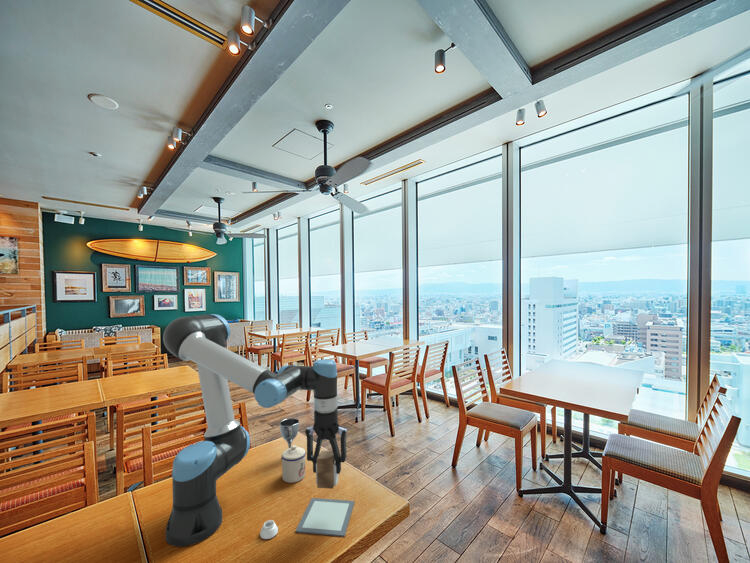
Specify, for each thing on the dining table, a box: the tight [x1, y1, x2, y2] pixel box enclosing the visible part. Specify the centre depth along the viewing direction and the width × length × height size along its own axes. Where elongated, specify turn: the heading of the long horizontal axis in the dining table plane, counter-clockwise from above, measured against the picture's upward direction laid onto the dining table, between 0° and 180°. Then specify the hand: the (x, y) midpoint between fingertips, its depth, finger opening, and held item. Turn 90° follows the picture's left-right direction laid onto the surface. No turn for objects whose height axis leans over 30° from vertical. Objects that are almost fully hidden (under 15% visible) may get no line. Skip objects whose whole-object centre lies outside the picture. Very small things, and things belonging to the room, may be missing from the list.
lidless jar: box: [259, 519, 279, 540], centre depth 94 cm, size 5×3×5 cm
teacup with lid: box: [281, 444, 307, 484], centre depth 124 cm, size 12×9×12 cm
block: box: [316, 450, 335, 489], centre depth 101 cm, size 5×5×9 cm
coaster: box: [295, 497, 355, 537], centre depth 101 cm, size 15×15×1 cm
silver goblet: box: [279, 417, 300, 460], centre depth 137 cm, size 8×8×15 cm
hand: (327, 482), depth 101 cm, fingers closed on block, 5 cm apart
